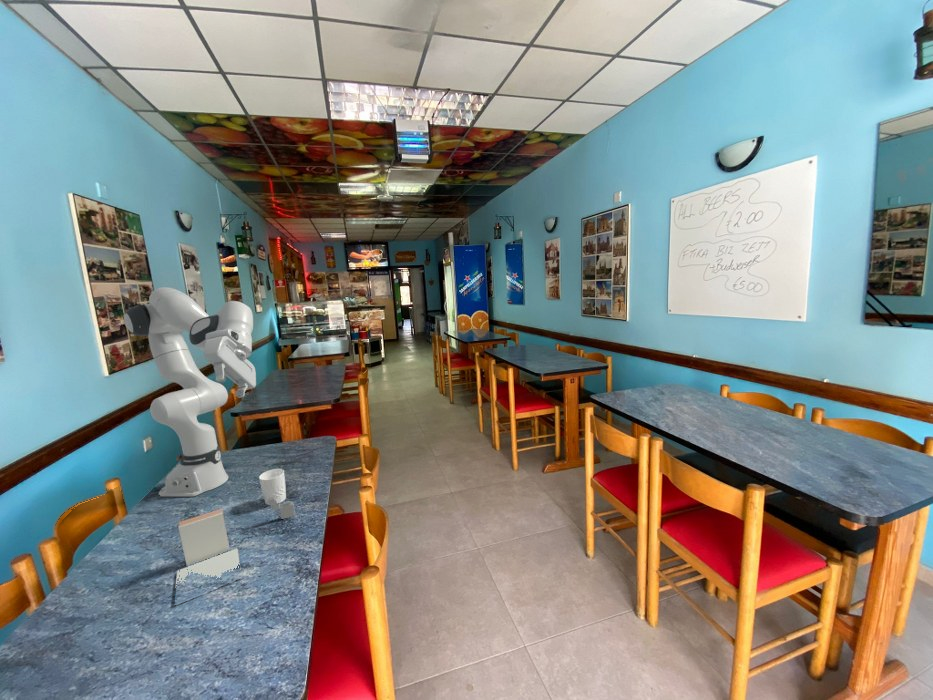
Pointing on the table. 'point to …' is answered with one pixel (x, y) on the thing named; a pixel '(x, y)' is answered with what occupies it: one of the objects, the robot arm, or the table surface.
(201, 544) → the tile
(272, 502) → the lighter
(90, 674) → the table surface
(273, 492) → the white cup
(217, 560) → the mat
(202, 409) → the robot arm
